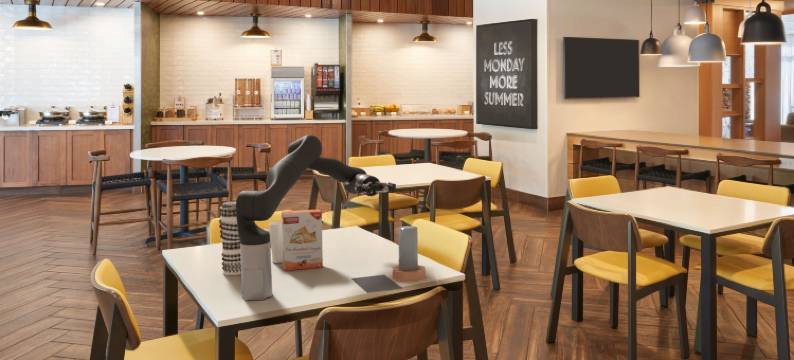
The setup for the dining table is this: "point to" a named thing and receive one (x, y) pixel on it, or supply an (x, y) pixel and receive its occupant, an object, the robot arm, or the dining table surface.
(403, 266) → the grey pillar
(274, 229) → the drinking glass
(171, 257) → the dining table surface
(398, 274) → the pink donut
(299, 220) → the cracker box
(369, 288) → the mat
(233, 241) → the decorative candle
